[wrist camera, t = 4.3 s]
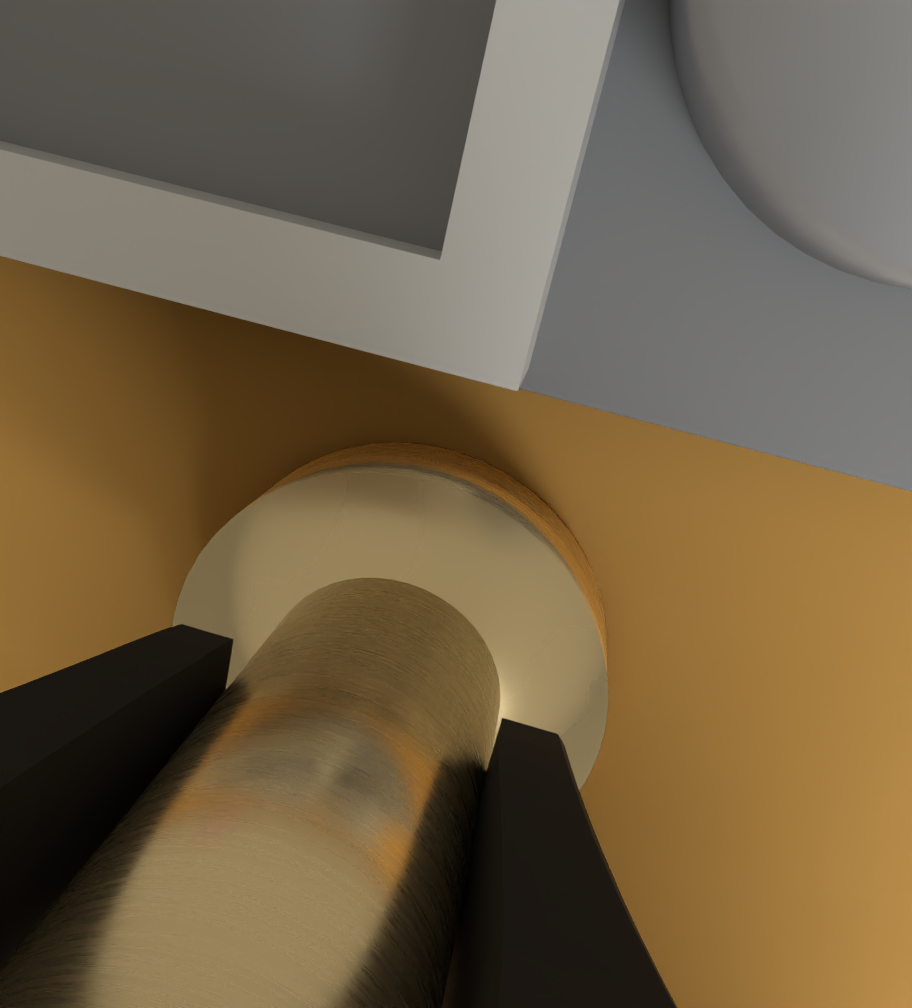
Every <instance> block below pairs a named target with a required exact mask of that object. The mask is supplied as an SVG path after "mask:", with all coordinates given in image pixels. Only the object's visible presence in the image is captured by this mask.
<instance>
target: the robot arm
mask: <svg viewBox="0 0 912 1008" xmlns="http://www.w3.org/2000/svg"><path fill="white" fill-rule="evenodd" d="M233 640H234V639H231V638H228V637H224V636H221V635H218V634H214V633H211V632H207V631H204V630H201V629H197V628H194V627H190V626H187V625H183V624H180V625H177V626H174V627H170V628H167V629H164V630H162V631H159V632H156V633H153V634H151V635H148V636H146V637H143V638H140V639H138V640H135V641H133V642H130V643H128V644H125V645H123V646H120V647H118V648H115V649H113V650H110V651H108V652H105V653H103V654H100V655H98V656H95V657H93V658H90V659H88V660H85V661H82V662H80V663H77V664H75V665H72V666H70V667H67V668H64V669H62V670H59V671H57V672H54V673H52V674H49V675H46V676H44V677H41V678H39V679H36V680H33V681H31V682H28V683H26V684H23V685H21V686H18V687H15V688H13V689H10V690H7V691H5V692H2V693H0V969H1V967H2V966H3V965H4V964H5V962H6V961H7V960H8V959H9V958H10V956H11V955H12V954H13V953H14V951H15V950H16V949H17V948H18V946H19V945H20V944H21V943H22V941H23V940H24V939H25V938H26V936H27V935H28V934H29V933H30V932H31V930H32V929H33V928H34V927H35V925H36V924H37V923H38V922H39V920H40V919H41V918H42V917H43V915H44V914H45V913H46V912H47V910H48V909H49V908H50V907H51V906H52V904H53V903H54V902H55V901H56V899H57V898H58V897H59V896H60V894H61V893H62V892H63V891H64V889H65V888H66V887H67V886H68V884H69V883H70V882H71V881H72V880H73V878H74V877H75V876H76V875H77V873H78V872H79V871H80V870H81V868H82V867H83V866H84V865H85V863H86V862H87V861H88V860H89V858H90V857H91V856H92V855H93V854H94V852H95V851H96V850H97V849H98V847H99V846H100V845H101V844H102V842H103V841H104V840H105V839H106V837H107V836H108V835H109V834H110V832H111V831H112V830H113V829H114V828H115V826H116V825H117V824H118V823H119V821H120V820H121V819H122V818H123V816H124V815H125V814H126V813H127V811H128V810H129V809H130V808H131V807H132V805H133V804H134V803H135V802H136V800H137V799H138V798H139V797H140V795H141V794H142V793H143V792H144V790H145V789H146V788H147V787H148V785H149V784H150V783H151V782H152V781H153V779H154V778H155V777H156V776H157V774H158V773H159V772H160V771H161V769H162V768H163V767H164V766H165V764H166V763H167V762H168V761H169V759H170V758H171V757H172V756H173V755H174V753H175V752H176V751H177V750H178V748H179V747H180V746H181V745H182V743H183V742H184V741H185V740H186V738H187V737H188V736H189V735H190V733H191V732H192V731H193V730H194V729H195V727H196V726H197V725H198V724H199V722H200V721H201V720H202V719H203V717H204V716H205V715H206V714H207V712H208V711H209V710H210V709H211V707H212V706H213V705H214V704H215V703H216V701H217V700H218V699H219V698H220V696H221V695H222V694H223V693H224V691H225V690H226V684H227V678H228V672H229V665H230V659H231V653H232V646H233ZM442 1008H677V1007H676V1005H675V1003H674V1001H673V999H672V997H671V995H670V993H669V992H668V990H667V988H666V986H665V984H664V982H663V980H662V978H661V976H660V974H659V972H658V970H657V968H656V966H655V964H654V962H653V960H652V958H651V956H650V954H649V952H648V950H647V948H646V946H645V944H644V942H643V940H642V939H641V937H640V934H639V932H638V930H637V928H636V926H635V924H634V922H633V920H632V917H631V915H630V913H629V911H628V909H627V907H626V905H625V902H624V900H623V898H622V896H621V893H620V891H619V889H618V886H617V884H616V882H615V879H614V877H613V875H612V872H611V870H610V868H609V866H608V863H607V861H606V859H605V856H604V854H603V852H602V849H601V847H600V844H599V842H598V839H597V837H596V834H595V832H594V829H593V827H592V824H591V822H590V819H589V816H588V813H587V811H586V808H585V805H584V803H583V800H582V797H581V795H580V792H579V789H578V786H577V783H576V780H575V777H574V774H573V771H572V768H571V765H570V761H569V758H568V755H567V752H566V748H565V745H564V744H563V742H562V740H561V738H560V736H559V735H558V734H557V733H553V732H550V731H546V730H543V729H539V728H536V727H533V726H529V725H526V724H522V723H519V722H515V721H512V720H509V719H505V718H502V720H501V724H500V727H499V731H498V734H497V737H496V741H495V744H494V747H493V751H492V754H491V758H490V761H489V764H488V768H487V771H486V776H485V781H484V786H483V791H482V796H481V801H480V806H479V811H478V817H477V822H476V827H475V832H474V837H473V843H472V850H471V857H470V863H469V870H468V876H467V881H466V886H465V891H464V896H463V902H462V907H461V912H460V917H459V922H458V927H457V933H456V938H455V943H454V948H453V953H452V958H451V963H450V969H449V974H448V979H447V984H446V989H445V994H444V1000H443V1005H442Z"/></svg>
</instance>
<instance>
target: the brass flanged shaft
mask: <svg viewBox="0 0 912 1008" xmlns="http://www.w3.org/2000/svg"><path fill="white" fill-rule="evenodd" d="M180 624H183V625H187V626H190V627H194V628H197V629H201V630H204V631H207V632H211V633H214V634H218V635H221V636H224V637H228V638H231V639H234V640H233V646H232V653H231V659H230V665H229V672H228V678H227V684H226V690H225V691H224V693H223V694H222V695H221V696H220V698H219V699H218V700H217V701H216V703H215V704H214V705H213V706H212V707H211V709H210V710H209V711H208V712H207V714H206V715H205V716H204V717H203V719H202V720H201V721H200V722H199V724H198V725H197V726H196V727H195V729H194V730H193V731H192V732H191V733H190V735H189V736H188V737H187V738H186V740H185V741H184V742H183V743H182V745H181V746H180V747H179V748H178V750H177V751H176V752H175V753H174V755H173V756H172V757H171V758H170V759H169V761H168V762H167V763H166V764H165V766H164V767H163V768H162V769H161V771H160V772H159V773H158V774H157V776H156V777H155V778H154V779H153V781H152V782H151V783H150V784H149V785H148V787H147V788H146V789H145V790H144V792H143V793H142V794H141V795H140V797H139V798H138V799H137V800H136V802H135V803H134V804H133V805H132V807H131V808H130V809H129V810H128V811H127V813H126V814H125V815H124V816H123V818H122V819H121V820H120V821H119V823H118V824H117V825H116V826H115V828H114V829H113V830H112V831H111V832H110V834H109V835H108V836H107V837H106V839H105V840H104V841H103V842H102V844H101V845H100V846H99V847H98V849H97V850H96V851H95V852H94V854H93V855H92V856H91V857H90V858H89V860H88V861H87V862H86V863H85V865H84V866H83V867H82V868H81V870H80V871H79V872H78V873H77V875H76V876H75V877H74V878H73V880H72V881H71V882H70V883H69V884H68V886H67V887H66V888H65V889H64V891H63V892H62V893H61V894H60V896H59V897H58V898H57V899H56V901H55V902H54V903H53V904H52V906H51V907H50V908H49V909H48V910H47V912H46V913H45V914H44V915H43V917H42V918H41V919H40V920H39V922H38V923H37V924H36V925H35V927H34V928H33V929H32V930H31V932H30V933H29V934H28V935H27V936H26V938H25V939H24V940H23V941H22V943H21V944H20V945H19V946H18V948H17V949H16V950H15V951H14V953H13V954H12V955H11V956H10V958H9V959H8V960H7V961H6V962H5V964H4V965H3V966H2V967H1V969H0V1008H442V1005H443V1000H444V994H445V989H446V984H447V979H448V974H449V969H450V963H451V958H452V953H453V948H454V943H455V938H456V933H457V927H458V922H459V917H460V912H461V907H462V902H463V896H464V891H465V886H466V881H467V876H468V870H469V863H470V857H471V850H472V843H473V837H474V832H475V827H476V822H477V817H478V811H479V806H480V801H481V796H482V791H483V786H484V781H485V776H486V771H487V768H488V764H489V761H490V758H491V754H492V751H493V747H494V744H495V741H496V737H497V734H498V731H499V727H500V724H501V720H502V718H505V719H509V720H512V721H515V722H519V723H522V724H526V725H529V726H533V727H536V728H539V729H543V730H546V731H550V732H553V733H557V734H558V735H559V736H560V738H561V740H562V742H563V744H564V745H565V748H566V752H567V755H568V758H569V761H570V765H571V768H572V771H573V774H574V777H575V780H576V783H577V786H578V789H579V790H580V789H581V787H582V786H583V784H584V783H585V781H586V780H587V778H588V776H589V774H590V772H591V770H592V767H593V765H594V763H595V761H596V759H597V757H598V754H599V750H600V747H601V743H602V740H603V737H604V733H605V727H606V720H607V712H608V669H607V642H606V621H605V615H604V609H603V603H602V598H601V595H600V591H599V588H598V585H597V582H596V579H595V576H594V573H593V571H592V569H591V567H590V565H589V563H588V561H587V558H586V556H585V554H584V552H583V550H582V549H581V547H580V546H579V544H578V543H577V541H576V540H575V538H574V537H573V535H572V533H571V532H570V530H569V529H568V528H567V526H566V525H565V524H564V523H563V522H562V521H561V519H560V518H559V517H558V516H557V515H556V514H555V513H554V511H553V510H552V509H551V508H550V507H549V506H548V505H547V504H546V503H544V502H543V501H542V500H541V499H540V498H539V497H538V496H537V495H535V494H534V493H533V492H532V491H531V490H530V489H529V488H527V487H526V486H524V485H523V484H521V483H520V482H518V481H517V480H515V479H514V478H512V477H511V476H510V475H508V474H507V473H505V472H503V471H501V470H499V469H497V468H495V467H493V466H491V465H489V464H487V463H485V462H483V461H481V460H479V459H476V458H473V457H470V456H468V455H465V454H462V453H459V452H456V451H453V450H448V449H444V448H440V447H435V446H431V445H424V444H413V443H402V442H397V443H373V444H367V445H361V446H356V447H350V448H346V449H343V450H340V451H336V452H333V453H330V454H327V455H324V456H322V457H319V458H317V459H315V460H313V461H311V462H309V463H307V464H305V465H303V466H301V467H299V468H298V469H296V470H295V471H293V472H292V473H290V474H289V475H287V476H286V477H284V478H283V479H281V480H280V481H279V482H277V483H276V484H275V485H274V486H272V487H271V488H270V489H268V490H267V491H266V492H265V493H263V494H262V495H261V496H259V497H258V498H257V499H256V500H254V501H253V502H252V503H251V504H249V505H248V506H247V507H245V508H244V509H243V510H242V511H240V512H239V513H238V514H236V515H235V516H234V517H233V518H232V519H231V520H230V521H229V522H228V523H226V524H225V525H224V526H223V527H222V528H221V529H220V530H219V531H218V532H217V533H216V534H215V535H214V536H213V538H212V539H211V540H210V541H209V542H208V544H207V545H206V546H205V547H204V549H203V550H202V551H201V552H200V554H199V556H198V557H197V559H196V561H195V563H194V564H193V566H192V568H191V569H190V571H189V573H188V575H187V577H186V580H185V582H184V585H183V587H182V590H181V592H180V595H179V597H178V601H177V605H176V610H175V614H174V618H173V623H172V627H174V626H177V625H180Z"/></svg>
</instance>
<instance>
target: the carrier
mask: <svg viewBox="0 0 912 1008" xmlns="http://www.w3.org/2000/svg"><path fill="white" fill-rule="evenodd" d="M0 256H3V257H6V258H10V259H14V260H18V261H22V262H26V263H29V264H33V265H37V266H41V267H45V268H48V269H52V270H56V271H60V272H64V273H68V274H71V275H75V276H79V277H83V278H87V279H90V280H94V281H98V282H102V283H106V284H110V285H113V286H117V287H121V288H125V289H129V290H132V291H136V292H140V293H144V294H148V295H152V296H155V297H159V298H163V299H167V300H171V301H174V302H178V303H182V304H186V305H190V306H193V307H197V308H201V309H205V310H209V311H213V312H216V313H220V314H224V315H228V316H232V317H235V318H239V319H243V320H247V321H251V322H255V323H258V324H262V325H266V326H270V327H274V328H277V329H281V330H285V331H289V332H293V333H297V334H300V335H304V336H308V337H312V338H316V339H319V340H323V341H327V342H331V343H335V344H339V345H342V346H346V347H350V348H354V349H358V350H361V351H365V352H369V353H373V354H377V355H380V356H384V357H388V358H392V359H396V360H400V361H403V362H407V363H411V364H415V365H419V366H422V367H426V368H430V369H434V370H438V371H442V372H445V373H449V374H453V375H457V376H461V377H464V378H468V379H472V380H476V381H480V382H484V383H487V384H491V385H495V386H499V387H503V388H506V389H510V390H514V391H518V389H522V390H526V391H530V392H534V393H538V394H542V395H545V396H549V397H553V398H557V399H561V400H564V401H568V402H572V403H576V404H580V405H584V406H587V407H591V408H595V409H599V410H603V411H606V412H610V413H614V414H618V415H622V416H626V417H629V418H633V419H637V420H641V421H645V422H649V423H652V424H656V425H660V426H664V427H668V428H671V429H675V430H679V431H683V432H687V433H691V434H694V435H698V436H702V437H706V438H710V439H713V440H717V441H721V442H725V443H729V444H733V445H736V446H740V447H744V448H748V449H752V450H755V451H759V452H763V453H767V454H771V455H775V456H778V457H782V458H786V459H790V460H794V461H798V462H801V463H805V464H809V465H813V466H817V467H820V468H824V469H828V470H832V471H836V472H840V473H843V474H847V475H851V476H855V477H859V478H862V479H866V480H870V481H874V482H878V483H882V484H885V485H889V486H893V487H897V488H901V489H904V490H908V491H912V0H0Z"/></svg>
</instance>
